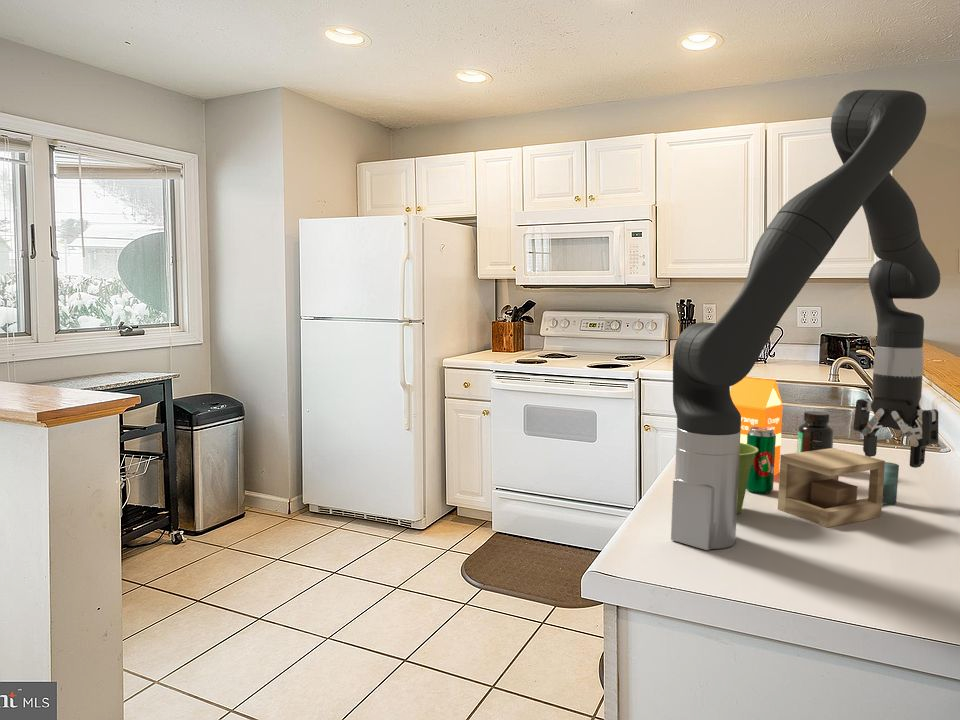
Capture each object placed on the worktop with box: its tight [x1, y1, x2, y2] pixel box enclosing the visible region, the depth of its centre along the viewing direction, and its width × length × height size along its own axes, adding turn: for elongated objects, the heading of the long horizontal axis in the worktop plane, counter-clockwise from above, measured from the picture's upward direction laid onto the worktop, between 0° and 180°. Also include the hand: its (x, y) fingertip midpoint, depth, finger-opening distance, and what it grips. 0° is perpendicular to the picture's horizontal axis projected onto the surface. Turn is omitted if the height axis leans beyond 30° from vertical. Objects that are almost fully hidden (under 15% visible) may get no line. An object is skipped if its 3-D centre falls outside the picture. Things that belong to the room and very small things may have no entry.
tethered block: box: [810, 461, 900, 509], centre depth 122 cm, size 18×5×7 cm, turn 114°
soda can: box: [746, 427, 776, 495], centre depth 131 cm, size 5×5×12 cm
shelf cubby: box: [777, 447, 886, 528], centre depth 118 cm, size 13×10×10 cm
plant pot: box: [737, 443, 759, 514], centre depth 120 cm, size 12×12×11 cm
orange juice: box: [730, 376, 784, 476], centre depth 144 cm, size 8×9×20 cm
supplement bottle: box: [796, 410, 835, 453], centre depth 148 cm, size 7×7×12 cm
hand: (892, 461), depth 124 cm, fingers open, 8 cm apart
